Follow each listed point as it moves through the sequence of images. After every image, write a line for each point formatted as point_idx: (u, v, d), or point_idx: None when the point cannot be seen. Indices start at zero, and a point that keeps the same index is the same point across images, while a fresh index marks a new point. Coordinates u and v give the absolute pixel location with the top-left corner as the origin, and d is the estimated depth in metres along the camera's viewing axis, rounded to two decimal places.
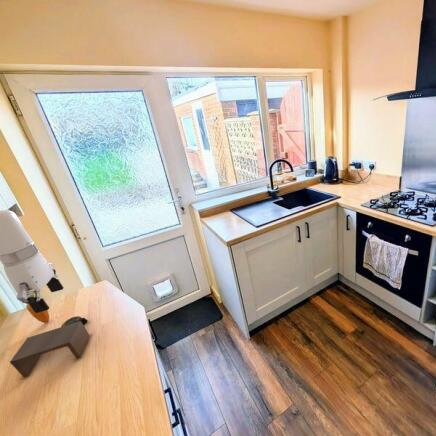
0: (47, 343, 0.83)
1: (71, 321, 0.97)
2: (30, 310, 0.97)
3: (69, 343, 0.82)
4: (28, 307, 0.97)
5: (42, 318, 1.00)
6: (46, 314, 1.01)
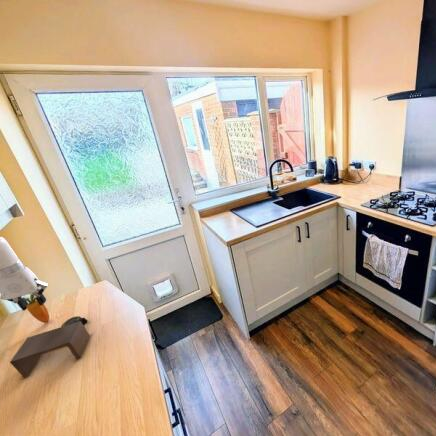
0: (47, 343, 0.83)
1: (71, 321, 0.97)
2: (30, 310, 0.97)
3: (69, 343, 0.82)
4: (28, 307, 0.97)
5: (42, 318, 1.00)
6: (46, 314, 1.01)
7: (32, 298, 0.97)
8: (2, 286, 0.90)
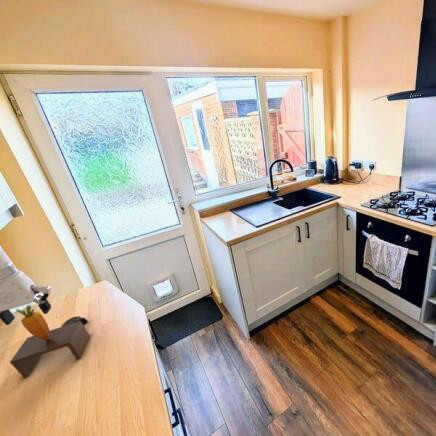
0: (47, 343, 0.83)
1: (71, 321, 0.97)
2: (26, 325, 0.78)
3: (69, 343, 0.82)
4: (24, 322, 0.78)
5: (41, 335, 0.81)
6: (46, 330, 0.82)
7: (29, 310, 0.78)
8: None
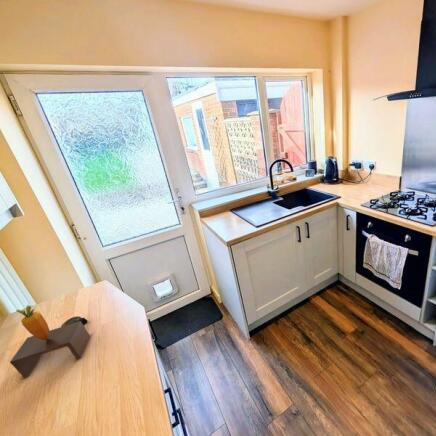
0: (47, 343, 0.83)
1: (71, 321, 0.97)
2: (26, 325, 0.78)
3: (69, 343, 0.82)
4: (23, 322, 0.78)
5: (41, 335, 0.81)
6: (46, 330, 0.82)
7: (29, 310, 0.78)
8: None
